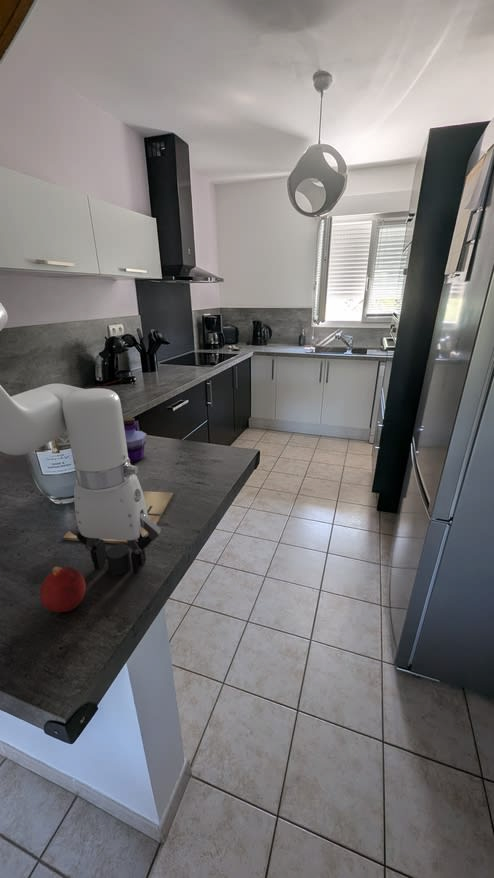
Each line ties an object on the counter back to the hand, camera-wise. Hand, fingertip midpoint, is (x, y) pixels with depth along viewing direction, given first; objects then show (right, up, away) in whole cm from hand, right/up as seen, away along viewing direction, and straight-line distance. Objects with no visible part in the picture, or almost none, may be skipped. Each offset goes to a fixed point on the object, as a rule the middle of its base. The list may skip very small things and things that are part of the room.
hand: (120, 565), depth 60 cm
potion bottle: (-11, +16, +40) cm, 45 cm away
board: (-4, +5, +15) cm, 16 cm away
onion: (-5, -4, -8) cm, 10 cm away
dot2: (0, -1, 0) cm, 1 cm away
